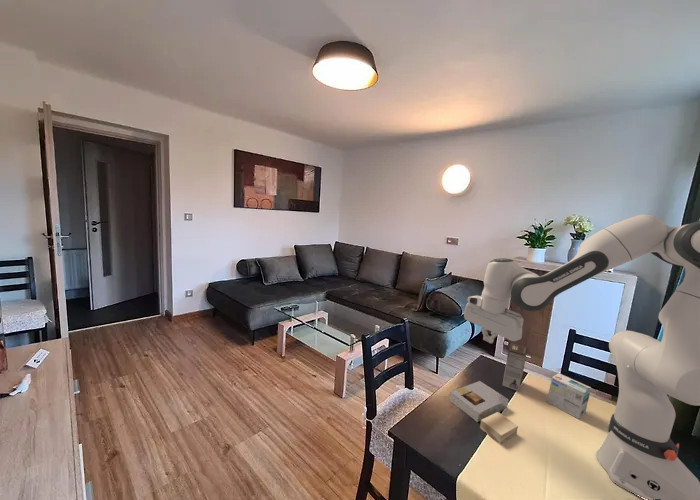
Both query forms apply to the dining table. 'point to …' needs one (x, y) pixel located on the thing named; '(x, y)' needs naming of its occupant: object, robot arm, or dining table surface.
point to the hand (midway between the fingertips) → (488, 341)
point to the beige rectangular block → (498, 427)
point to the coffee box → (514, 366)
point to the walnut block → (474, 398)
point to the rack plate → (488, 406)
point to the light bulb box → (569, 395)
